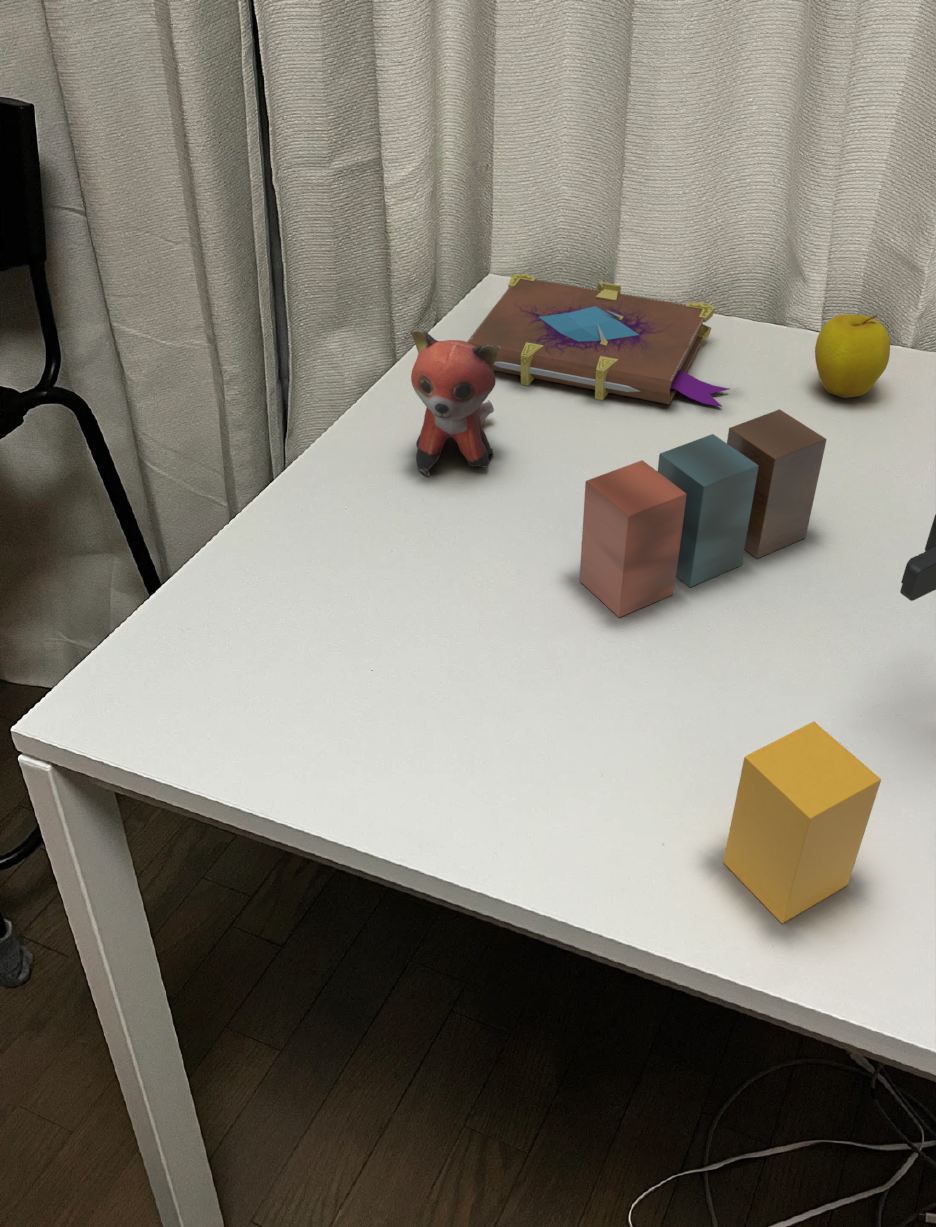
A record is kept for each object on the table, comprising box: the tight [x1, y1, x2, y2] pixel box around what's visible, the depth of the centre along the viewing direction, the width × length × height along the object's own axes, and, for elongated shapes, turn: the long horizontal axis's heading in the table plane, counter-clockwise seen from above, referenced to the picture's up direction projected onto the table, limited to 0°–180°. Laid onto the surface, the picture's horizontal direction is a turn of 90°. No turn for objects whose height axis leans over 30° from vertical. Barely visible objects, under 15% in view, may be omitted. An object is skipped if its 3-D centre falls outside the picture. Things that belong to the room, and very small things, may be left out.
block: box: [722, 721, 882, 924], centre depth 66 cm, size 5×5×9 cm
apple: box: [814, 313, 891, 399], centre depth 107 cm, size 6×6×8 cm
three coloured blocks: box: [578, 409, 827, 618], centre depth 88 cm, size 18×5×9 cm, turn 121°
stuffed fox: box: [410, 329, 501, 477], centre depth 99 cm, size 8×11×12 cm
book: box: [466, 273, 730, 408], centre depth 114 cm, size 16×25×5 cm, turn 67°
